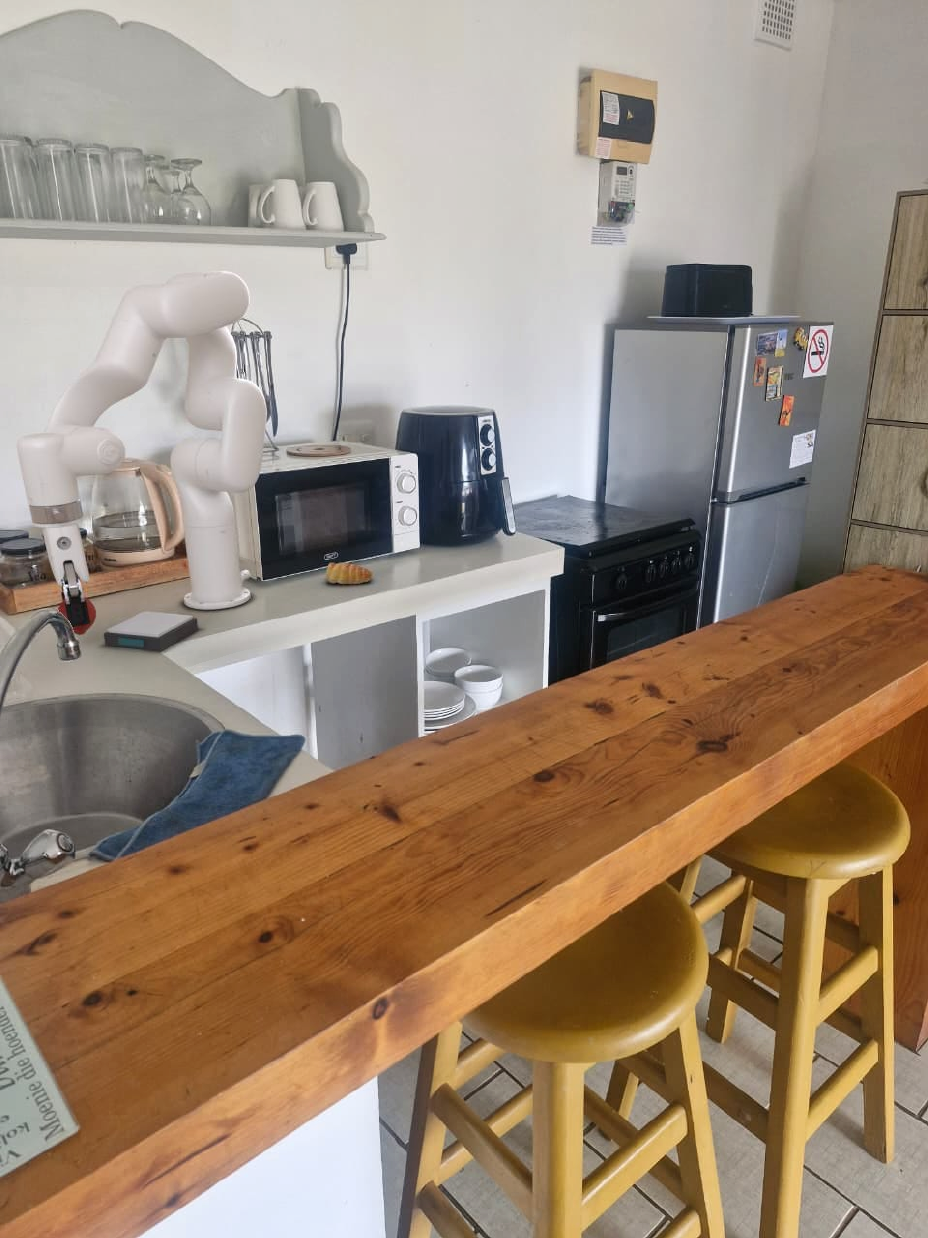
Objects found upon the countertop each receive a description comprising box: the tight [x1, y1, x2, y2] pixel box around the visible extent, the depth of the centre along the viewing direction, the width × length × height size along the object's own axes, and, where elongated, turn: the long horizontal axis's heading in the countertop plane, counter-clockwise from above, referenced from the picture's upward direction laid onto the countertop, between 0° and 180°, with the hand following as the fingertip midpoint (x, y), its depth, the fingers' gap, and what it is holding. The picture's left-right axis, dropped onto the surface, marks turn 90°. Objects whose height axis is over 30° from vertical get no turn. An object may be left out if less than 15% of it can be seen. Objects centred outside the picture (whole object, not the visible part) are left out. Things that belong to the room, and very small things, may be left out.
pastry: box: [324, 562, 373, 585], centre depth 181 cm, size 9×7×4 cm
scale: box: [103, 610, 199, 652], centre depth 150 cm, size 11×11×3 cm
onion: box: [57, 596, 97, 636], centre depth 144 cm, size 6×6×8 cm
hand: (77, 618), depth 144 cm, fingers closed on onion, 5 cm apart
